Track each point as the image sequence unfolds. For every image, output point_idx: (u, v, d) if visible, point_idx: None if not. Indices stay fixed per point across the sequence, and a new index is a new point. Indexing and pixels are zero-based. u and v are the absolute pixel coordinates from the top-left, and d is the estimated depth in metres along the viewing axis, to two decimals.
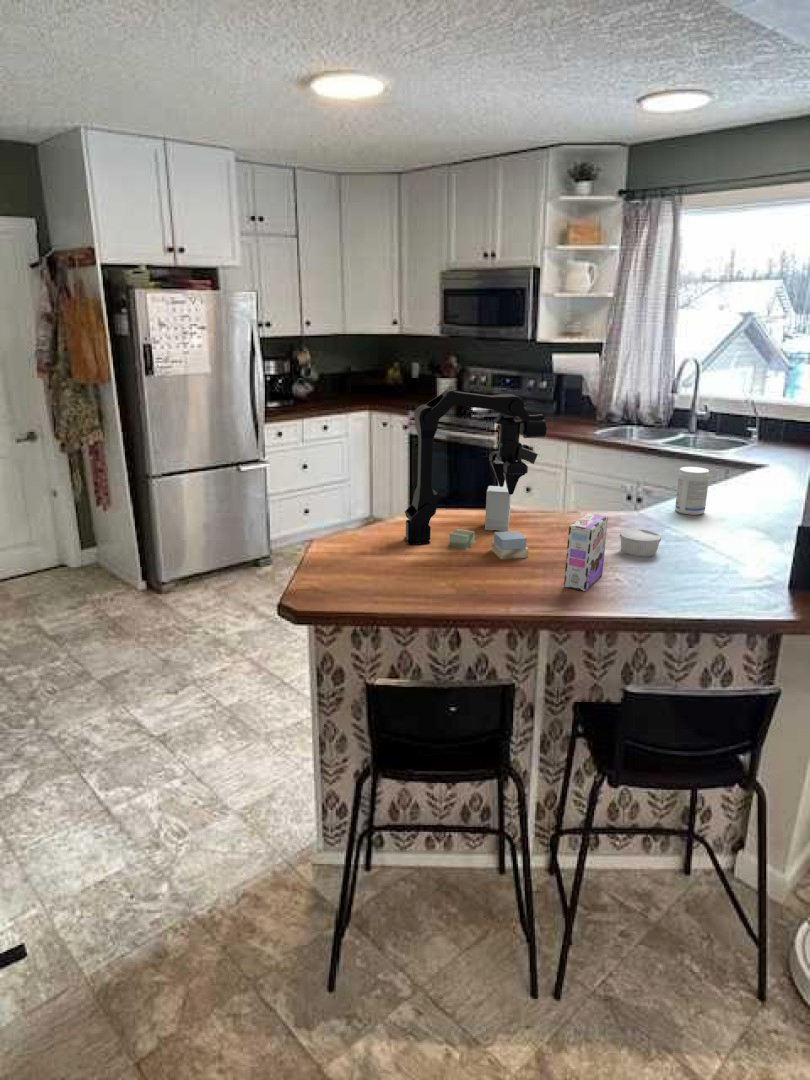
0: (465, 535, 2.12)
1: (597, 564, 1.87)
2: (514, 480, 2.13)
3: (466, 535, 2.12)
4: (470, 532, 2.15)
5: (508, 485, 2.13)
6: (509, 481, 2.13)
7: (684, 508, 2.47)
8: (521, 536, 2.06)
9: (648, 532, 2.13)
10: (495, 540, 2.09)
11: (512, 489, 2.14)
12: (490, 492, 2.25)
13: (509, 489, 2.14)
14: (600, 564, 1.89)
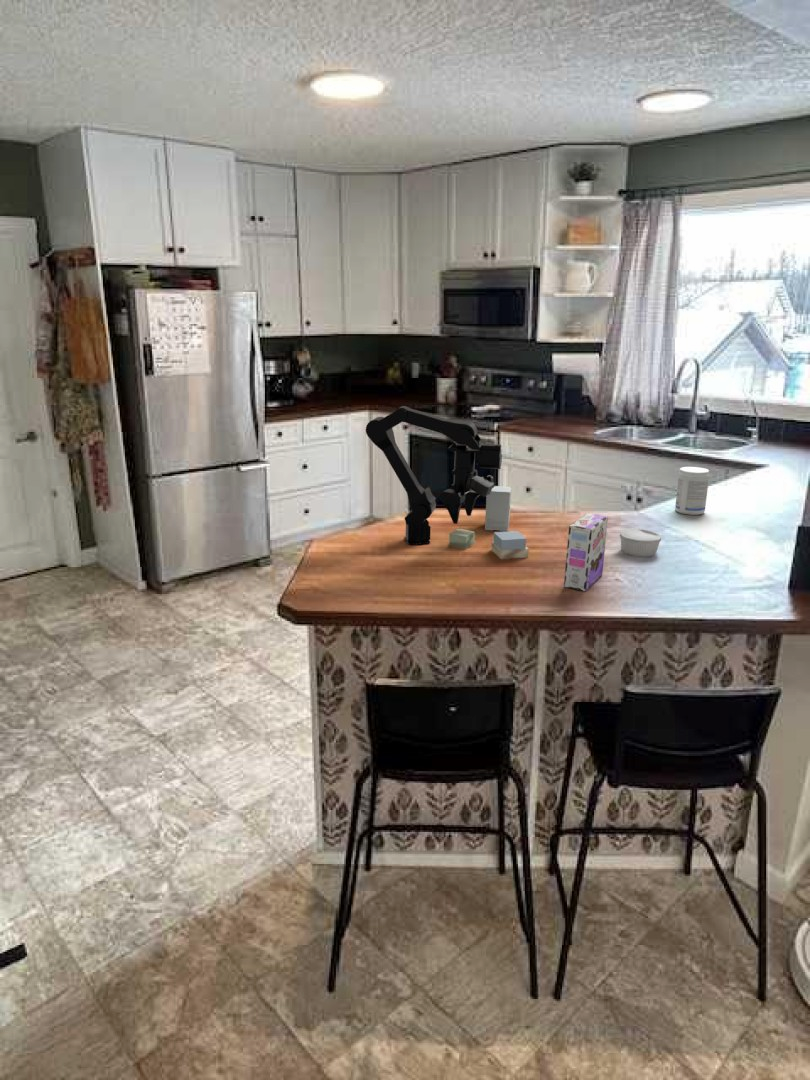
0: (464, 535, 2.12)
1: (597, 564, 1.87)
2: (455, 509, 2.07)
3: (466, 536, 2.11)
4: (470, 532, 2.15)
5: (450, 513, 2.08)
6: (450, 509, 2.07)
7: (684, 508, 2.47)
8: (521, 536, 2.06)
9: (648, 532, 2.13)
10: (495, 540, 2.09)
11: (455, 518, 2.08)
12: (490, 492, 2.25)
13: (452, 518, 2.09)
14: (600, 564, 1.89)
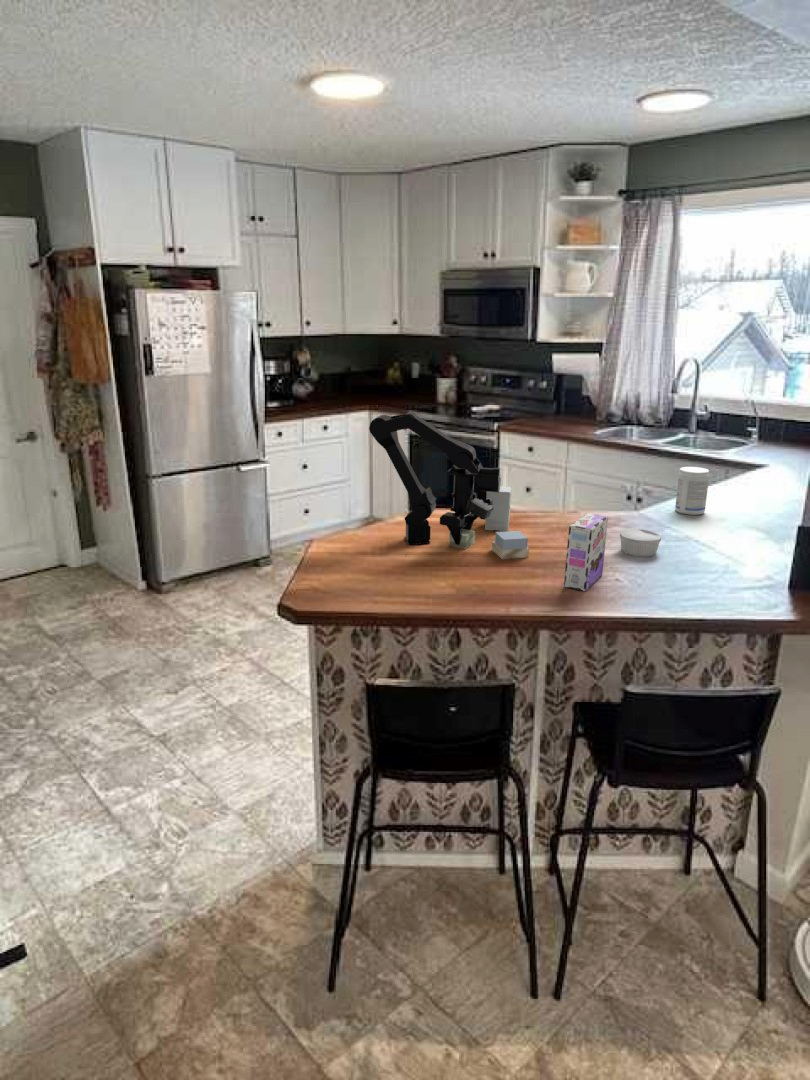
0: (464, 534, 2.12)
1: (597, 564, 1.87)
2: (457, 531, 2.10)
3: (466, 535, 2.11)
4: (470, 531, 2.15)
5: (452, 534, 2.12)
6: (452, 531, 2.11)
7: (684, 508, 2.47)
8: (522, 536, 2.06)
9: (648, 532, 2.13)
10: (497, 540, 2.09)
11: (457, 539, 2.12)
12: (490, 492, 2.25)
13: (454, 539, 2.12)
14: (600, 564, 1.89)
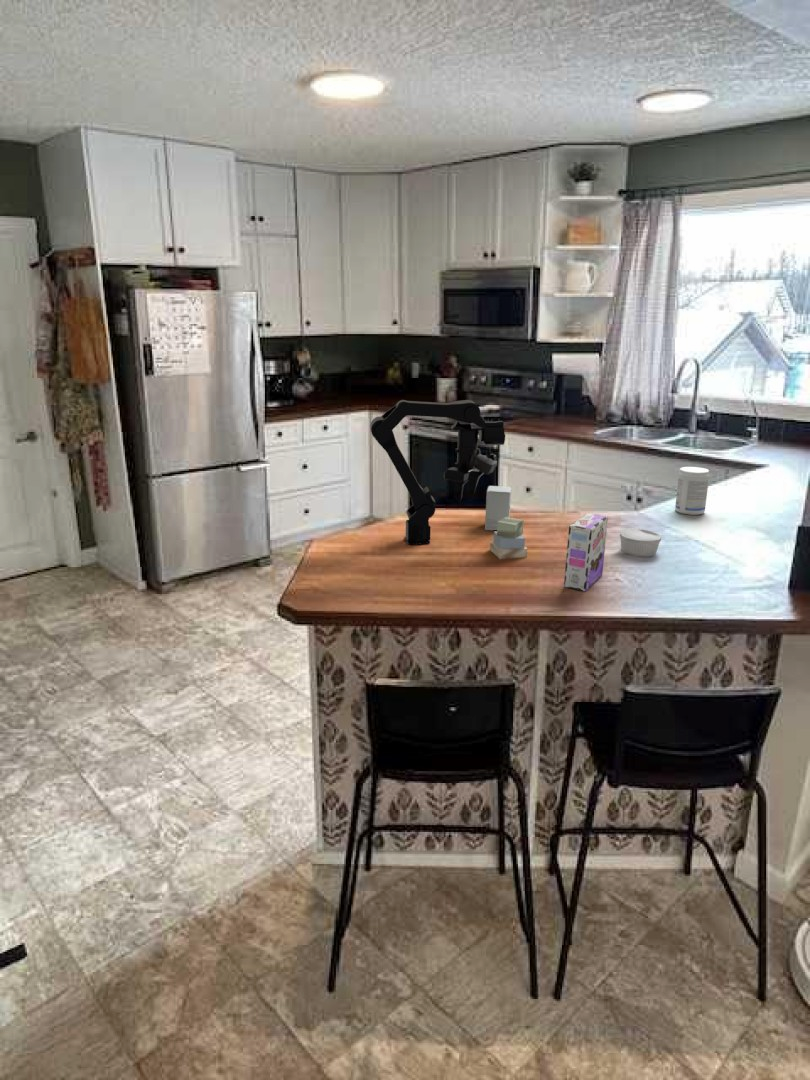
0: (513, 523, 2.04)
1: (597, 564, 1.87)
2: (459, 487, 2.09)
3: (515, 524, 2.03)
4: (519, 520, 2.06)
5: (453, 491, 2.11)
6: (453, 487, 2.10)
7: (684, 508, 2.47)
8: (520, 536, 2.06)
9: (648, 532, 2.13)
10: (495, 540, 2.10)
11: (458, 496, 2.11)
12: (490, 492, 2.25)
13: (455, 496, 2.11)
14: (600, 564, 1.89)
